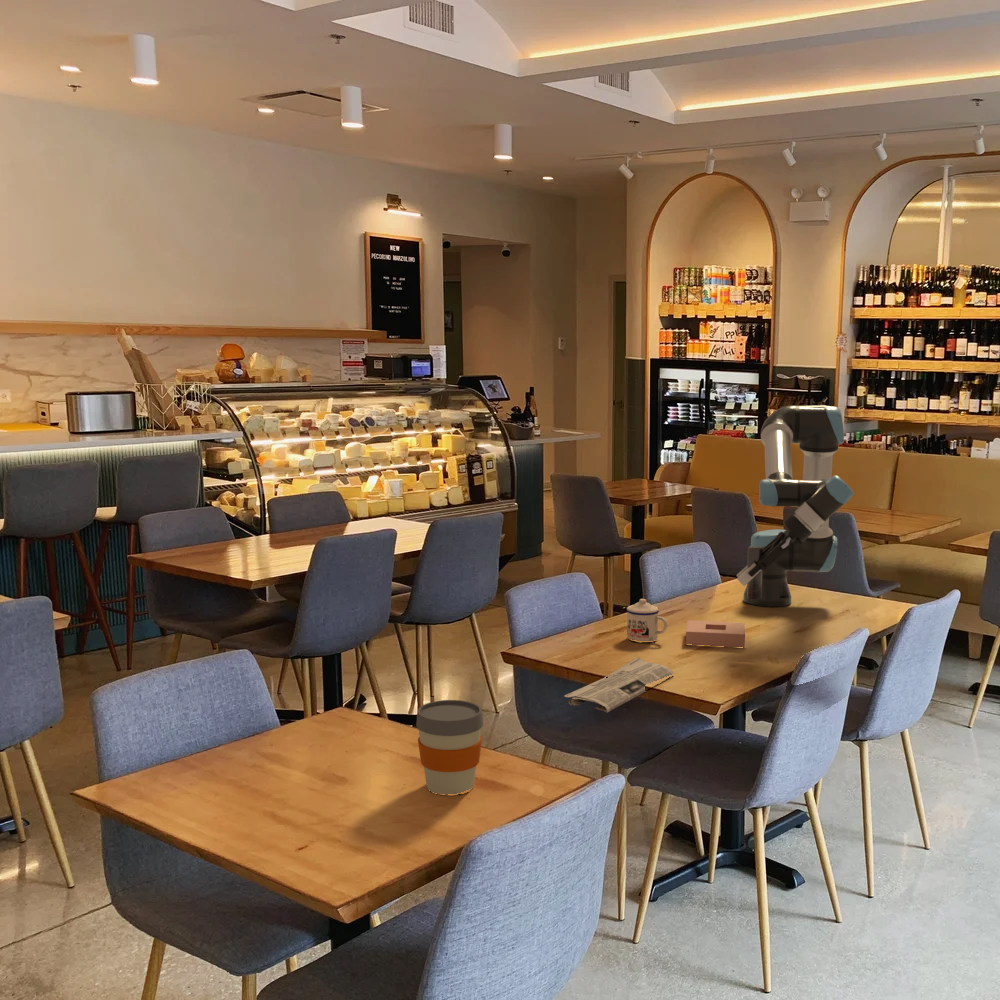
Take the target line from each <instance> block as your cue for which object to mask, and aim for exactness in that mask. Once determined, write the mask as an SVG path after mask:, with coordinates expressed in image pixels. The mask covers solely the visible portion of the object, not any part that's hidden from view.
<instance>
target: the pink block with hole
mask: <svg viewBox="0 0 1000 1000" xmlns="http://www.w3.org/2000/svg"><path fill="white" fill-rule="evenodd" d="M745 625H746V623H745V622H738V621H737V622H736V621H735V622H734V621H715V620H714V621H713V620H712V621H711V620H696V619H695V620H690V619H688V620H687V622H686V631H685V645H686V644H692V645H710V646H724V647H743V648H745V649H746V626H745Z"/></svg>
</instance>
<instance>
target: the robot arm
mask: <svg viewBox="0 0 1000 1000" xmlns="http://www.w3.org/2000/svg"><path fill="white" fill-rule="evenodd" d="M844 432H845V431H844V423H843V415H842V410H841V409H840V408H839V406H830V405H825V404H824V405H785V406H782V407H780V408H778V409H777V410H775V411H773V412H772V413H771V414H770V415H769V416H768V417H767V418H766V419H765V421H764V422H763V424H762V426H761V429H760V441H761V443H762V444H763V445H762V446H764V464H765V466H764V468H765V471H764V472H765V479H760V481H759V488H758V489H759V490H758V492H759V493H758V496H759V498H758V501H759V504H760V505H761V506H768V507H772V508H773V507H794V508H795V507H796V509H795V511H794V514H790V515H789V516H788V517H787V518H786V519H785V520H784V521H783V525H784V526H785V527H786V529H778V528H777V529H766V530H761V531H757V532H755V533H754V534H752V535H751V537H750V546H758V547H762V548H763V554H762V557H761V558H760V559H759V560H758V561H757V562H756V561H755V560H754V561H753V562H754V564H752V565H751V566H750V567H749V568H748V569H747V565H746V566H745V567H744V568H742V569H741V570H740V571H739V572H738V573H737V574H736V577H737V578H736V580H737V581H738V582H739V583H740V584H741V585H743V587H745V589H744V592H743V597H742V598H743V600H742V601H743V602H744V603H746V604H749V605H753V606H759V607H771V608H773V607H777V608H778V607H784V606H789V605H791V604H792V594H791V591H790V588H789V584H788V581H787V574H788V572H805V573H806V572H809V573H816V574H817V573H828V572H831V570H832V569H833V568H834V565H835V564H836V563H835V562H836V558H837V553H838V545H839V543H838V537H837V536H835V535H834V531H833V529H832V528H830V525H829V521H830V518H831V516H833V515H834V514H835V513H836V512H837V511H838V510H839V509H841V508H842V507H843V506H844V505H846V504H847V503H848V502H849V500H851V499H852V497H853V496H854V495H855V493H854V492H855V491H854V489H852V488H851V487H850V485H848V484H847V483H846V482H845V481H844V480H843V479H842V478H841V477H840V476H839V475H837V474H836V475H833V476H832V474H833V473H832V470H833V459H834V458H833V457H834V456H833V455H834V454H835V453H837V452H838V450H839V445H842V444H844V442H845V440H844V439H845V434H844ZM791 444H799V450H800V451H801V452H802V453H803V471H802V472H803V473H802V480H801V479H793V466H792V450H791ZM761 570H762V598H760V599H751V598H747V583H748V582H749V581H750V580H751V579H753V578H754V577H755V576H756V575H757V574H758V573H759V572H760V571H761Z"/></svg>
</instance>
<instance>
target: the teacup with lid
mask: <svg viewBox="0 0 1000 1000" xmlns="http://www.w3.org/2000/svg"><path fill="white" fill-rule="evenodd" d="M625 610H626V612H627V613H626V615H627V616H626V639H627V638H629V639H632V640H637V641H654V640H658V639H657V638H658V636H659V635H662V634H664V633H665V632H666V630H667V628H668V621H667V619H666V618H665V617H663V616H659V612H660V611H659V608H658V607H657V606H656V605H652V604H651V603H649V602H647V599H645V598H640V599H639V601H638V602H636V603H634V604H632V605H629V606H628V607H626V609H625ZM659 620H660V621H662V622H663V628H662V629H661V630H659V628H658V626H659Z"/></svg>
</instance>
